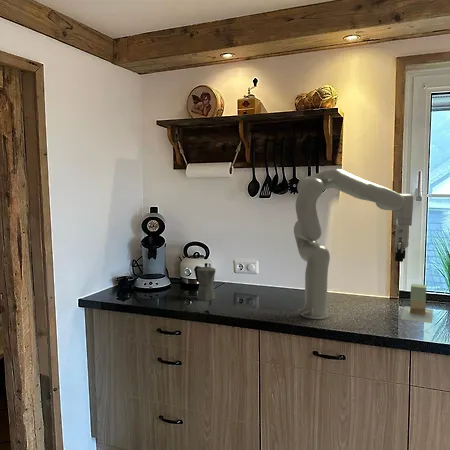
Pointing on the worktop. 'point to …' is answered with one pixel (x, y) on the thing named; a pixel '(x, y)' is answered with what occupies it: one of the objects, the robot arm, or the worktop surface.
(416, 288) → the green block
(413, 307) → the oak block
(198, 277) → the coffeepot
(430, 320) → the plan board
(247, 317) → the worktop surface
